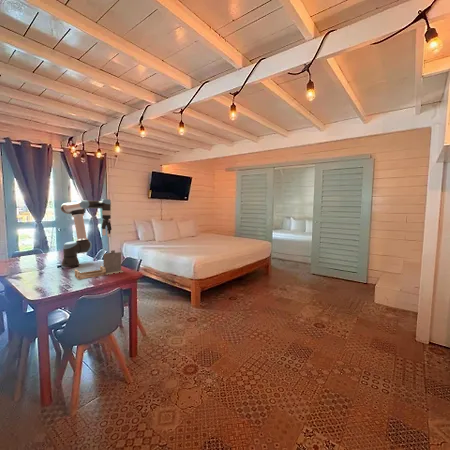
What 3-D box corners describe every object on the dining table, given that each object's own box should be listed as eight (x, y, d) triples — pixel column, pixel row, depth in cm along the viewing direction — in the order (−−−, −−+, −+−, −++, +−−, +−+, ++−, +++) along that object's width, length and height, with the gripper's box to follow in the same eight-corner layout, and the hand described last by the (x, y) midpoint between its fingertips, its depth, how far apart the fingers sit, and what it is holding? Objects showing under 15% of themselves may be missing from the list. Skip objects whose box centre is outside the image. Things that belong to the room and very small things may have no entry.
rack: (74, 276, 208) (74, 269, 207) (101, 272, 223) (101, 265, 223) (77, 279, 200) (77, 272, 200) (105, 274, 216) (105, 268, 216)
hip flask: (120, 269, 233) (120, 249, 231) (122, 270, 230) (122, 249, 228) (103, 272, 221) (103, 251, 220) (104, 273, 218) (104, 251, 217)
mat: (101, 271, 224) (101, 271, 224) (118, 269, 235) (118, 268, 235) (106, 274, 216) (106, 274, 216) (123, 272, 226) (123, 271, 226)
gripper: (98, 214, 241) (98, 235, 243) (107, 215, 224) (107, 237, 226) (105, 214, 247) (105, 234, 248) (115, 215, 229) (115, 237, 231)
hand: (106, 236), depth 237 cm, fingers open, 13 cm apart
